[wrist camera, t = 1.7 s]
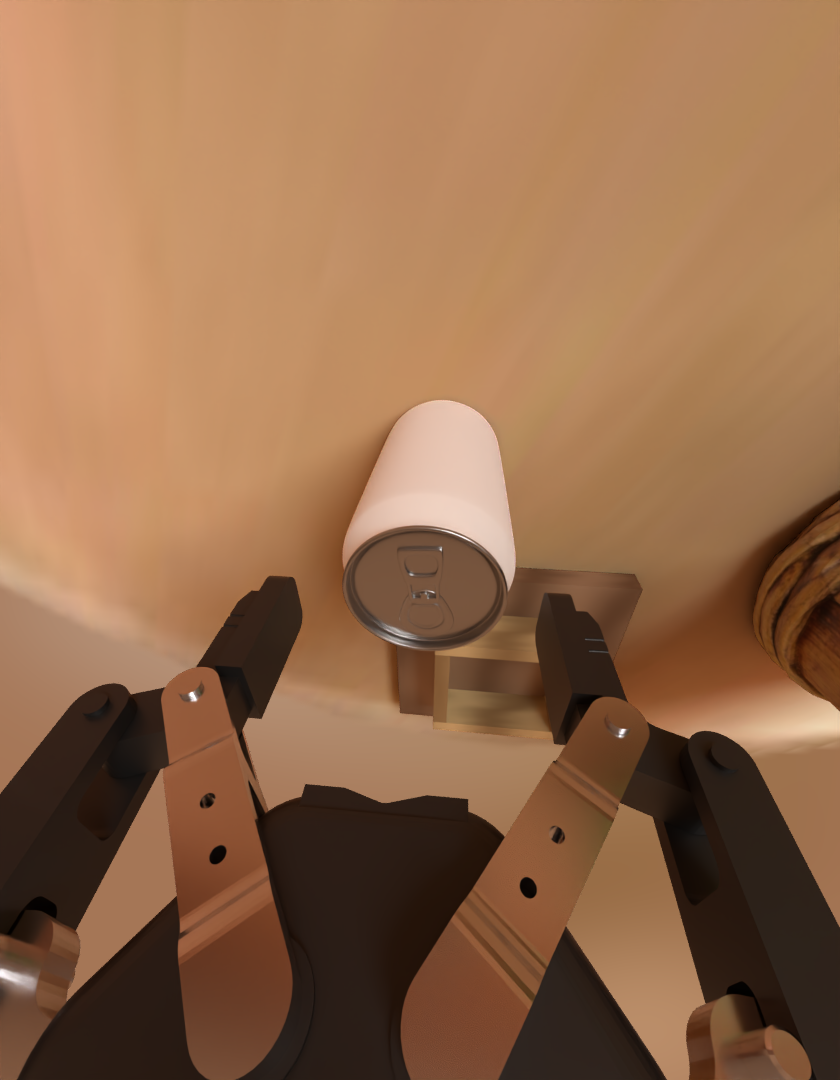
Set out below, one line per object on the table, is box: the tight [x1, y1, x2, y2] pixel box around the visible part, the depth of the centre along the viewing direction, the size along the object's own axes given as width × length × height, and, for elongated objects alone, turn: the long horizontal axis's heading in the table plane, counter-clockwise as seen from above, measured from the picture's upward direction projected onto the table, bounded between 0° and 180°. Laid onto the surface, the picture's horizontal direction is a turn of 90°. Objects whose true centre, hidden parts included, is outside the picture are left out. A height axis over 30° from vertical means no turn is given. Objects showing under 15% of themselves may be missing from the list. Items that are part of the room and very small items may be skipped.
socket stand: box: [396, 568, 642, 740], centre depth 31 cm, size 16×16×4 cm
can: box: [342, 400, 516, 651], centre depth 19 cm, size 6×6×12 cm
